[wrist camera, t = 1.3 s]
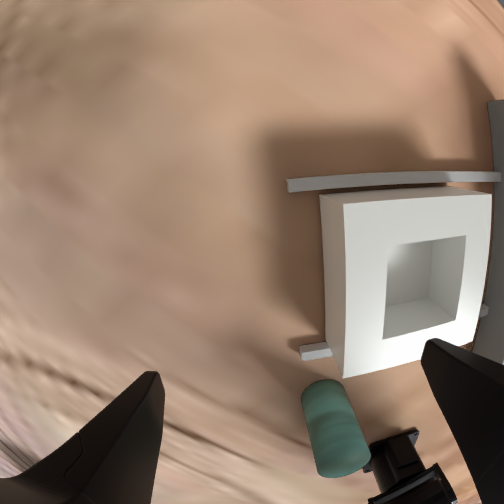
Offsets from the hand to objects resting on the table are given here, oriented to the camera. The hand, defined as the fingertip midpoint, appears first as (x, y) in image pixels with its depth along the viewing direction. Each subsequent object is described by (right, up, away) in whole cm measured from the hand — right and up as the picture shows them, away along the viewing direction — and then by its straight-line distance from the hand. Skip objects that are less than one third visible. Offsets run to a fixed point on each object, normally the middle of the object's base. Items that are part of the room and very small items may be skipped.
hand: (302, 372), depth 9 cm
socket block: (+9, +3, +12) cm, 15 cm away
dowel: (+5, -9, +16) cm, 19 cm away
